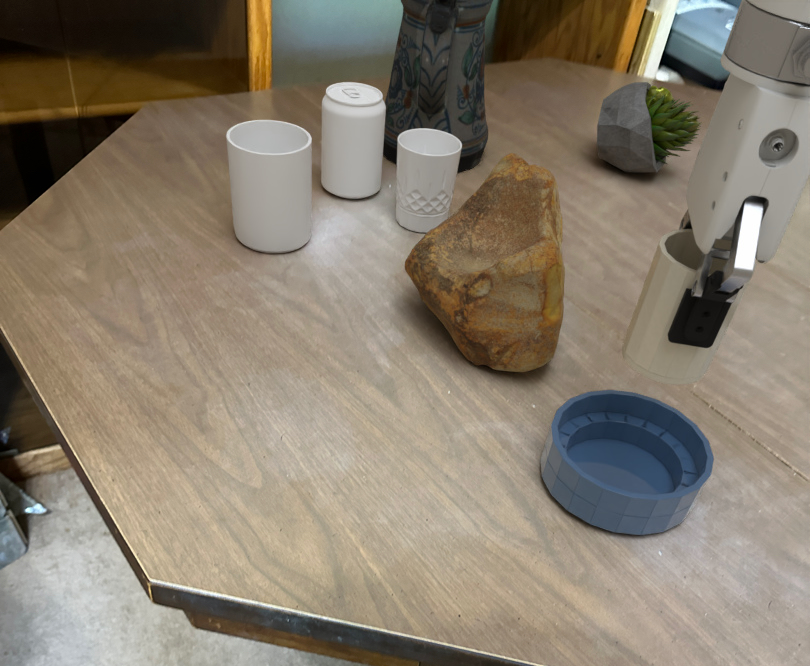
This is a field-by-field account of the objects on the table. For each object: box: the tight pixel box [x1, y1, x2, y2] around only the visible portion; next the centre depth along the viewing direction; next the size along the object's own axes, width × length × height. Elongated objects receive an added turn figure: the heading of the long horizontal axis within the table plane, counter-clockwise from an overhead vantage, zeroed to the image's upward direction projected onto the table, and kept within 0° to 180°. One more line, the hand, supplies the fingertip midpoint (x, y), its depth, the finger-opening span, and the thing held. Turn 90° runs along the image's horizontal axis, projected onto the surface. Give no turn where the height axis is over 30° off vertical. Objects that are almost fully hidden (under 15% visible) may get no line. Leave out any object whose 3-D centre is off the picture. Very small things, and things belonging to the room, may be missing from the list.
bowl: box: [539, 389, 715, 536], centre depth 69 cm, size 14×14×5 cm
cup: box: [621, 229, 758, 386], centre depth 58 cm, size 7×7×9 cm
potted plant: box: [596, 81, 702, 174], centre depth 114 cm, size 12×13×15 cm
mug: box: [225, 119, 313, 254], centre depth 91 cm, size 10×12×12 cm
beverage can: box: [320, 81, 386, 200], centre depth 101 cm, size 8×8×12 cm
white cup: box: [395, 128, 462, 234], centre depth 97 cm, size 8×8×10 cm
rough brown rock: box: [404, 152, 566, 373], centre depth 81 cm, size 23×17×15 cm
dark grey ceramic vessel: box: [383, 0, 494, 174], centre depth 105 cm, size 16×19×25 cm
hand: (683, 312), depth 58 cm, fingers closed on cup, 7 cm apart
